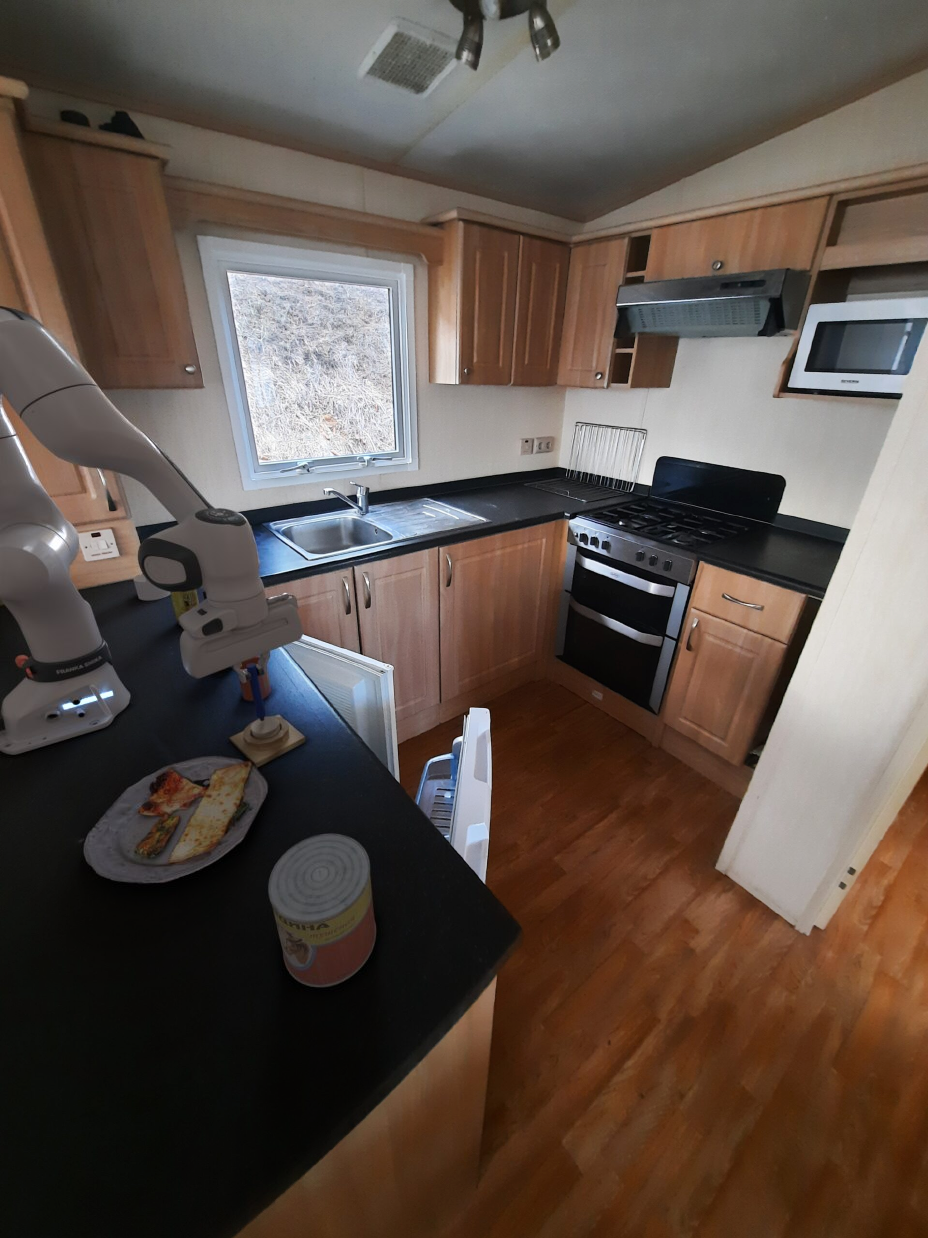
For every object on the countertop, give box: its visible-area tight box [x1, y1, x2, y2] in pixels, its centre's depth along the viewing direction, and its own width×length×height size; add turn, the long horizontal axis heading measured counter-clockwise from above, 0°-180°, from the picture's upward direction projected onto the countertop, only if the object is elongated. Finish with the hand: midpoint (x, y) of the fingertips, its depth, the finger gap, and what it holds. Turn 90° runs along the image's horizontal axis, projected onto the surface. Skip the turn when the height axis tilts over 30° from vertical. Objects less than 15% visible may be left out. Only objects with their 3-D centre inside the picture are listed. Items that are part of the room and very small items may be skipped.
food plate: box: [83, 755, 269, 884], centre depth 79 cm, size 25×23×4 cm
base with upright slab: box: [132, 572, 171, 601], centre depth 154 cm, size 9×9×12 cm
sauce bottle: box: [170, 589, 200, 626], centre depth 136 cm, size 7×6×20 cm
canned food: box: [267, 833, 377, 988], centre depth 61 cm, size 11×11×12 cm
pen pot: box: [238, 656, 272, 702], centre depth 108 cm, size 6×6×8 cm
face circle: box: [251, 716, 280, 740], centre depth 95 cm, size 5×5×2 cm
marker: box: [246, 663, 267, 721], centre depth 92 cm, size 2×2×12 cm
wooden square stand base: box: [229, 714, 307, 768], centre depth 95 cm, size 10×10×3 cm
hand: (253, 677), depth 91 cm, fingers closed on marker, 1 cm apart
